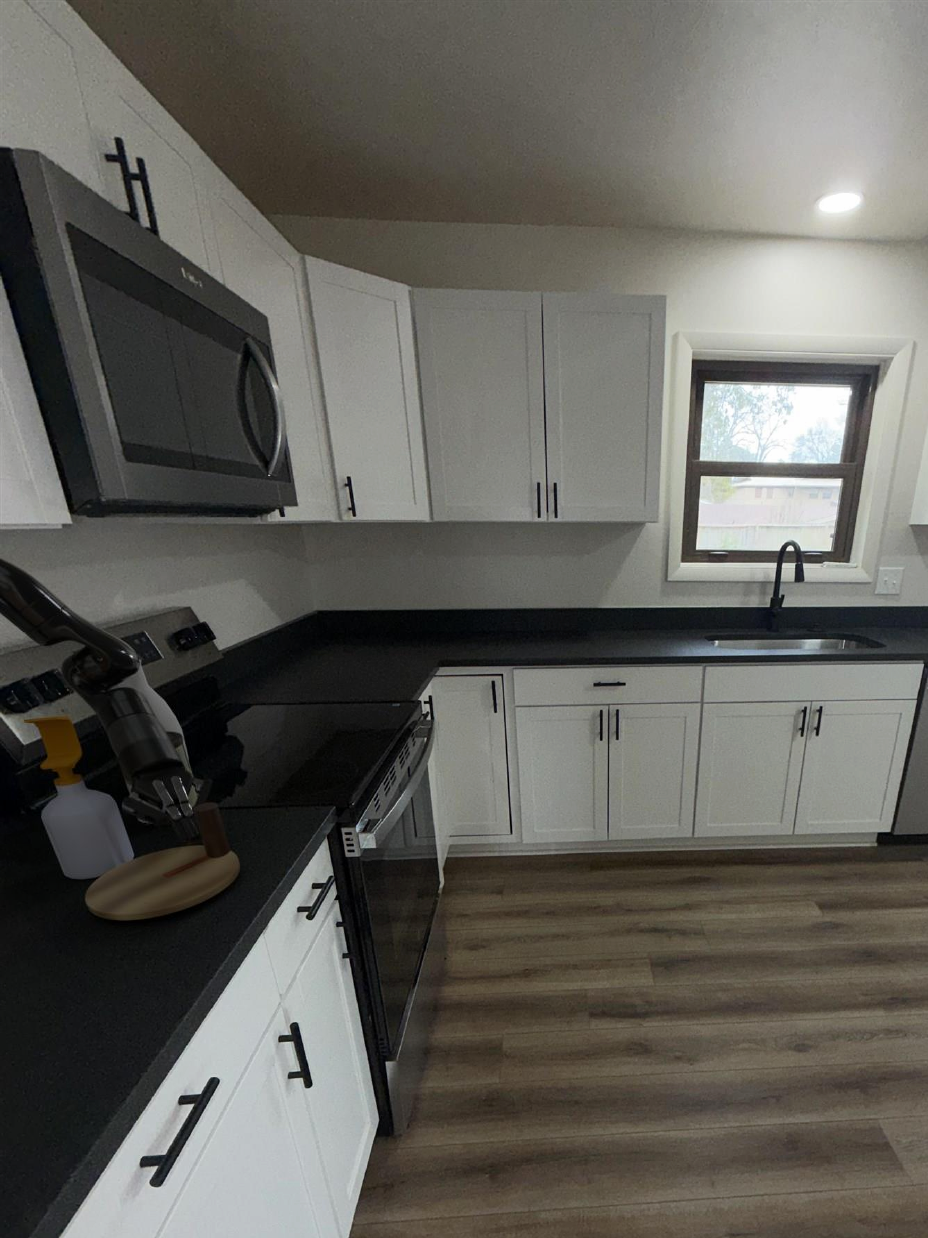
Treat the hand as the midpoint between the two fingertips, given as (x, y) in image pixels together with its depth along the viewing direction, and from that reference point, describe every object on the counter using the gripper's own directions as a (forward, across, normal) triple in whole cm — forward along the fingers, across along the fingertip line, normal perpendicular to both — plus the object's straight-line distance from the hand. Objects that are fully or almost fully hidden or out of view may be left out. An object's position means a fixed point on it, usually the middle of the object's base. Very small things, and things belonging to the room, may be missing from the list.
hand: (193, 841), depth 98 cm
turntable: (+5, +6, 0) cm, 7 cm away
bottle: (-25, -9, -30) cm, 40 cm away
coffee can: (-15, -5, -21) cm, 26 cm away
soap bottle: (-6, +9, -13) cm, 17 cm away
